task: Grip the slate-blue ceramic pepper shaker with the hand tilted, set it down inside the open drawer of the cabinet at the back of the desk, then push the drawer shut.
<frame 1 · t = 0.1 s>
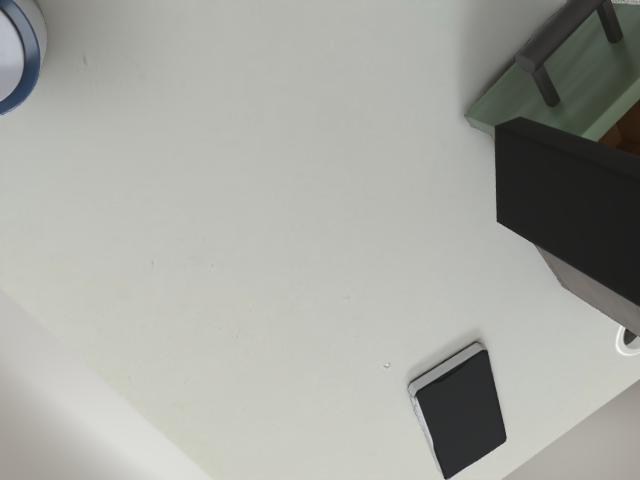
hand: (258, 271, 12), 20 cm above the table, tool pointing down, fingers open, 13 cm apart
cabinet: (584, 198, 45), on the table
drawer: (592, 116, 34), point 5 cm above the table, slide at 8.0 cm
smartphone: (456, 409, 51), on the table
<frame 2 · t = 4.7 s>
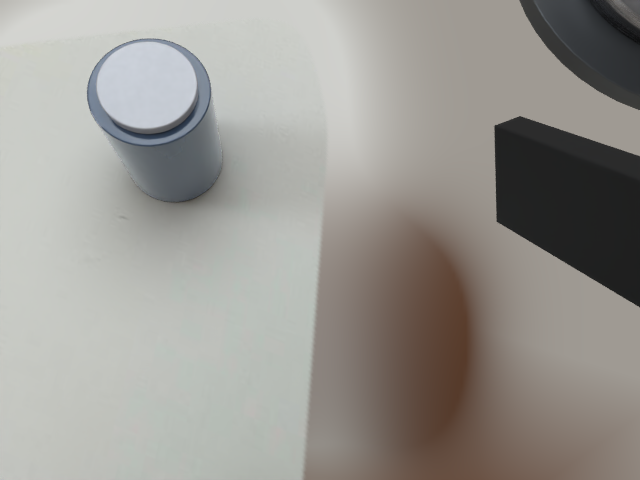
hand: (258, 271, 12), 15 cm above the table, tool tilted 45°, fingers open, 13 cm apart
shaker: (175, 158, 29), on the table
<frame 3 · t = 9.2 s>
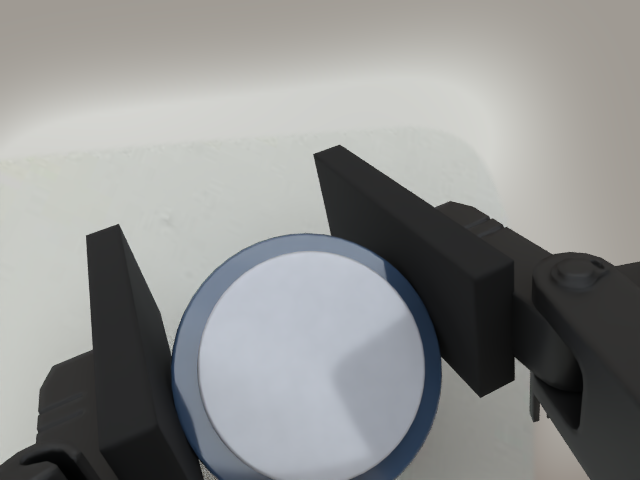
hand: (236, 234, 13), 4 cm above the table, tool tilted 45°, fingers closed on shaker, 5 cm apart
shaker: (283, 377, 16), on the table, touching gripper
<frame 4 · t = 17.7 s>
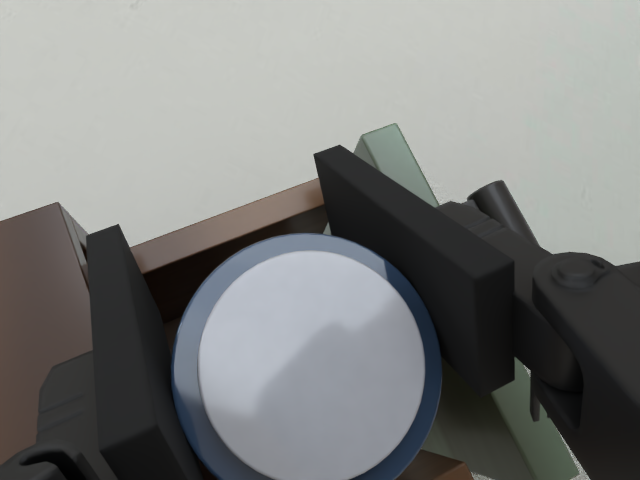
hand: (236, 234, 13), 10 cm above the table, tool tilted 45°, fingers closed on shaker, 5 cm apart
shaker: (283, 377, 16), point 6 cm above the table, touching gripper
drawer: (320, 359, 17), point 5 cm above the table, slide at 7.9 cm, touching gripper
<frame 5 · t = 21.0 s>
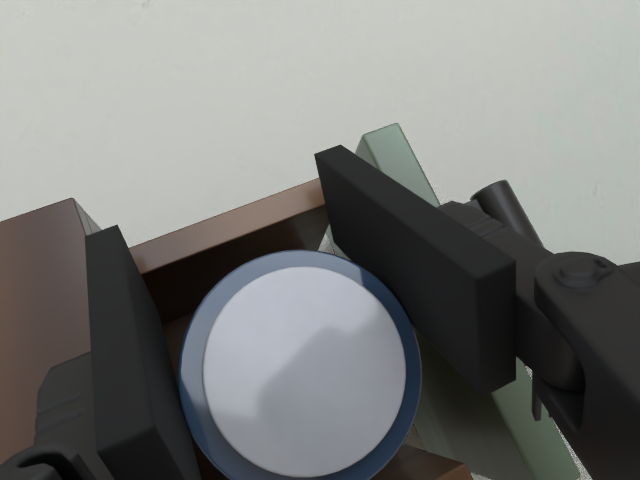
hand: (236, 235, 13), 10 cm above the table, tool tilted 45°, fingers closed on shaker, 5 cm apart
shaker: (281, 379, 17), point 5 cm above the table, touching gripper
drawer: (322, 359, 17), point 5 cm above the table, slide at 7.6 cm, touching gripper
when the fingers open (10 cm above the table, at t = 21.0 s): shaker drops 3 cm, resting on drawer.
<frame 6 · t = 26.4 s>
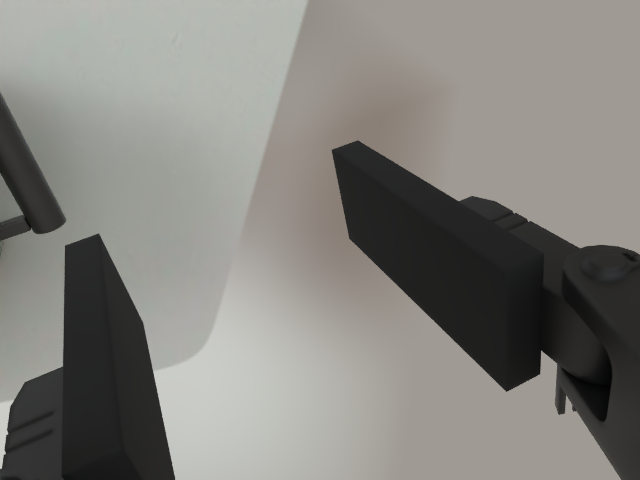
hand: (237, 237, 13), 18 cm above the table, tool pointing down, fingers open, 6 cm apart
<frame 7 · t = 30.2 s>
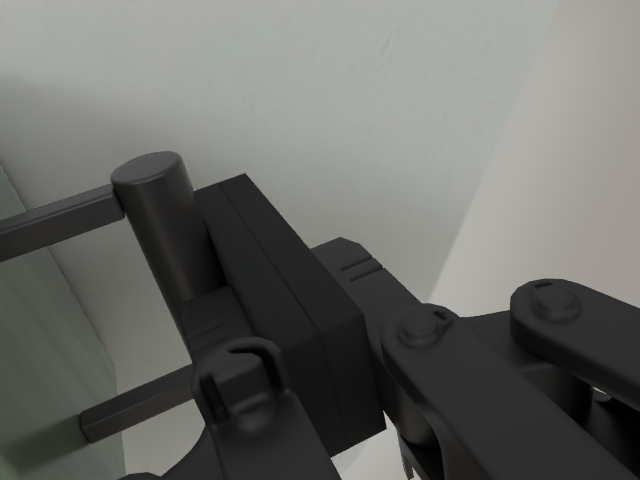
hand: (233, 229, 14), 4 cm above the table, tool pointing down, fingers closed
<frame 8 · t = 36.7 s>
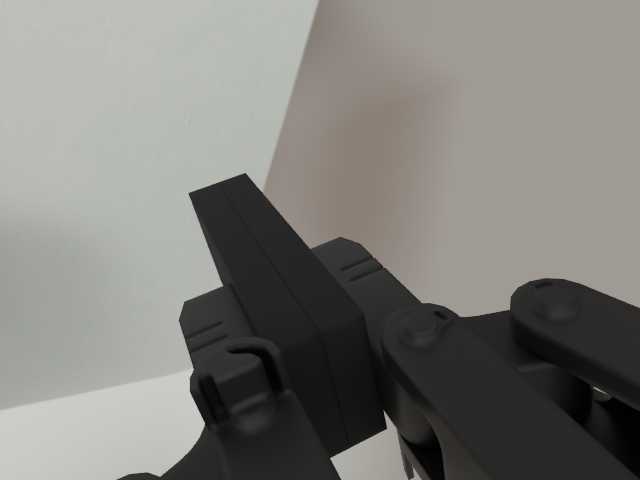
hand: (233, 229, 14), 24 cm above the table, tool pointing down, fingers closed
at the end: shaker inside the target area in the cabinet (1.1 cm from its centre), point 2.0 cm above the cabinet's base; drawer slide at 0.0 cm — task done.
